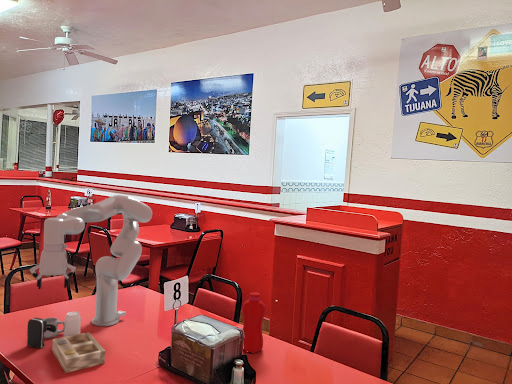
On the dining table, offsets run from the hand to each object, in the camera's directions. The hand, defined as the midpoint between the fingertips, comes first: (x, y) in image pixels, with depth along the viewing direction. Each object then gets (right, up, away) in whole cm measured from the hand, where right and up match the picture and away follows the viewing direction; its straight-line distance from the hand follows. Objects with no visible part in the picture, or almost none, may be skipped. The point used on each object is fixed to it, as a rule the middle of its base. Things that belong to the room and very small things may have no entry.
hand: (52, 287), depth 170 cm
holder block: (+15, -25, -11) cm, 31 cm away
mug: (-3, -23, +7) cm, 24 cm away
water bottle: (+82, -29, +8) cm, 88 cm away
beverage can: (+7, -24, +3) cm, 25 cm away
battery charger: (-5, -23, -4) cm, 24 cm away
